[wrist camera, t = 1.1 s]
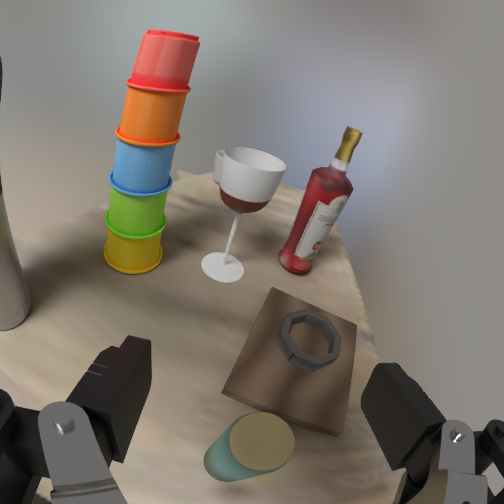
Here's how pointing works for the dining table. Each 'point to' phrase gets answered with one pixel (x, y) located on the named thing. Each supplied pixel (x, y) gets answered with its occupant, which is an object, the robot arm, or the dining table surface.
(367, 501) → the dining table surface
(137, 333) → the dining table surface
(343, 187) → the liquor
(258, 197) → the wineglass
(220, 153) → the cup
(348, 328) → the lamp base
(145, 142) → the stacking cups
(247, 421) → the teal cylinder
